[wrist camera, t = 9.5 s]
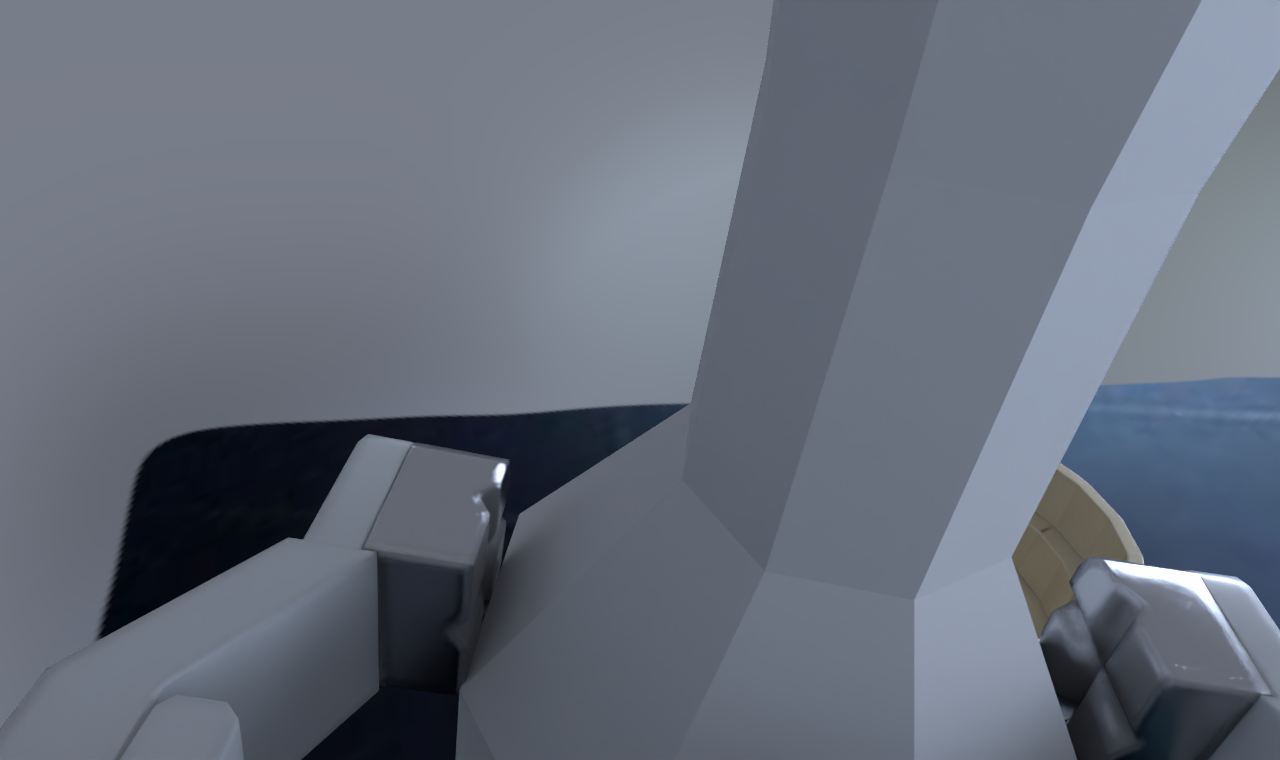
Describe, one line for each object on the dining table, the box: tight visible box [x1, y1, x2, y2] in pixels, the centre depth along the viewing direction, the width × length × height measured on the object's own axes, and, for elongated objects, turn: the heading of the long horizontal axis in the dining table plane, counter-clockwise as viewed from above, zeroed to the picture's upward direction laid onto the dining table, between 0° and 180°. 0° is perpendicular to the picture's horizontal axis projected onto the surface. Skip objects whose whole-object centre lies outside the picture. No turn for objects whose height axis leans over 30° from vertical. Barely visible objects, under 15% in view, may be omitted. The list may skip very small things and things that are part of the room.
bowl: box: [1012, 463, 1144, 720], centre depth 36 cm, size 13×13×6 cm
